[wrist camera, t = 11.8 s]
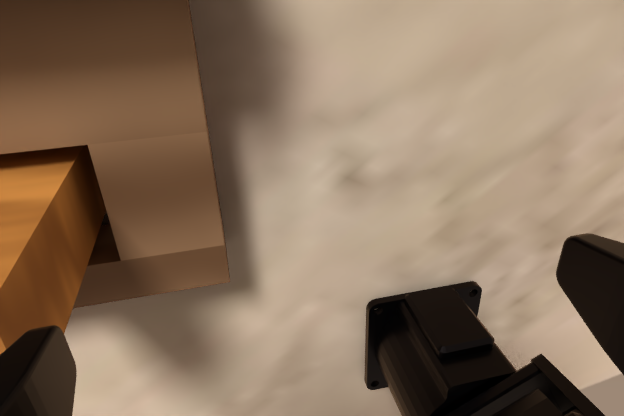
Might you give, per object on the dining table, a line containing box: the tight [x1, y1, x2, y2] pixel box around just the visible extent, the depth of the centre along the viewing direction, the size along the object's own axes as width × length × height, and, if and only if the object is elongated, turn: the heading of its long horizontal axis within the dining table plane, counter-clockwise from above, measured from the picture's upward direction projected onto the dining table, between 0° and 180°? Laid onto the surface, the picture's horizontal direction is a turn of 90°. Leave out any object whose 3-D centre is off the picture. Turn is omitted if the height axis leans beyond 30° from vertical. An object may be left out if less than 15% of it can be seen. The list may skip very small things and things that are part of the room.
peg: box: [0, 145, 106, 354], centre depth 14 cm, size 3×3×10 cm
